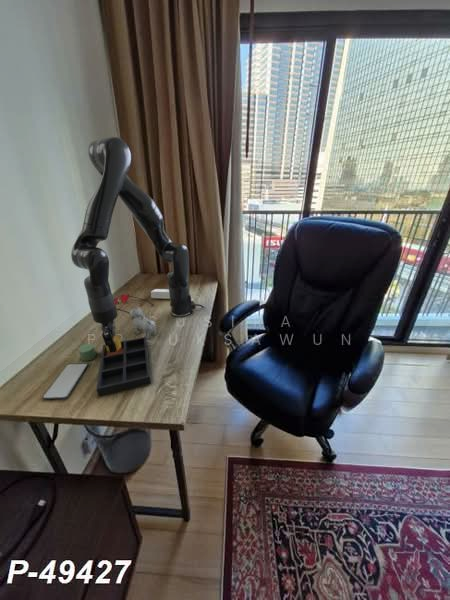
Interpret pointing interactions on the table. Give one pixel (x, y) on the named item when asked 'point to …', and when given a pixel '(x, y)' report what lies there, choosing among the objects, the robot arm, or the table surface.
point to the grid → (124, 367)
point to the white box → (160, 293)
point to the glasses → (125, 298)
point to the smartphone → (65, 381)
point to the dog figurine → (142, 322)
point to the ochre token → (117, 343)
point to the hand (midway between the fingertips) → (113, 346)
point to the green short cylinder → (87, 352)
